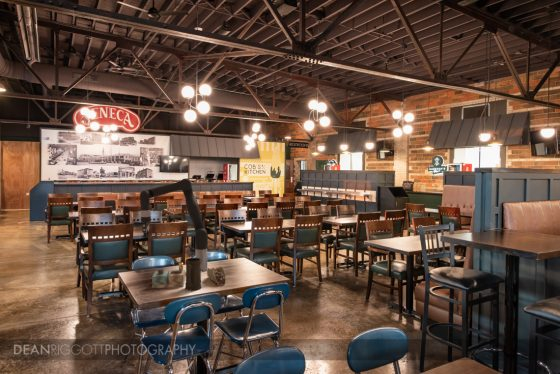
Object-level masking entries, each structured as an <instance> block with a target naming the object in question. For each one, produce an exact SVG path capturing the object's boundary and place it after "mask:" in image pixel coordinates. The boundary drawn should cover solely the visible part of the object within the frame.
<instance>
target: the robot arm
mask: <svg viewBox="0 0 560 374" xmlns="http://www.w3.org/2000/svg"><path fill="white" fill-rule="evenodd" d="M192 185H193V184H192V181H191V180H190V179H189V178H182V179H181V180H179V181H176V182H174V183H169V184H166V185H160V186H157V187H153V188H149V189H146V190H142V191H141V192H140V193H139V200H140V201H139V202H140V223H143V224H142V226H141V227H142V230H141V231H142V233H143V239H146V238H147V237H149V236H150V229H151V228H150V223H151V222H152V213H151V203H150V199H151V198H154V197H156V198H157V197H160V196H164V195H167V194H171V193H173V192H178V191H182V193H183V196H184V199H185V200H184V201H185V206H186V210H187V213H188V215H189V218H190V220H191V222H192V224H193V225H192V226H193V227H194V233H195V235H194V237H195V238H194V239H195V240H194V241H195V243H194V244H195V245H194V246H195V258H200V259H201V265H200V267H201V272H207V271H206V270H207V269H208V231H207V230H206V227H205V225H204V223H203V218H202V214H201V210H200V209H201V208H200V206H199V203H198V201H197V198H196V196H195V193H194V189H193V186H192Z"/></svg>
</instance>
